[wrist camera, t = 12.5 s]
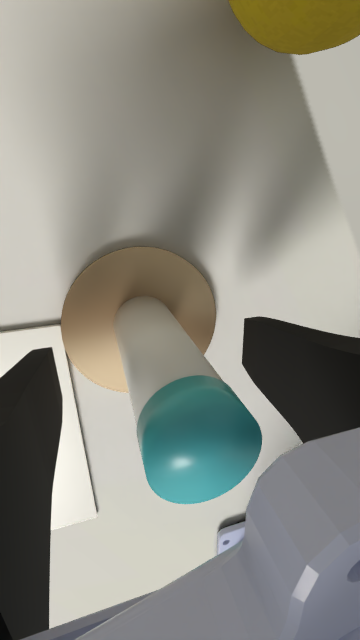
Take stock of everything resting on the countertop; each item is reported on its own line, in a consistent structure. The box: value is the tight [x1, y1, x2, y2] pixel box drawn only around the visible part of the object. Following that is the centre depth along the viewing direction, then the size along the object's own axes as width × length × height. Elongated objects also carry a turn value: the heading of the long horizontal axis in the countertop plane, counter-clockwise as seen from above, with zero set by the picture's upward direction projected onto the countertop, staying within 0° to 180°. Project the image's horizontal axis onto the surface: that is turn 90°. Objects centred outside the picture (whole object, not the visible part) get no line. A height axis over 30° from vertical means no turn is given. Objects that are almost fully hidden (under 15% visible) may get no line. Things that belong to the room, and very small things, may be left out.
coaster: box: [61, 247, 216, 393], centre depth 14 cm, size 7×7×1 cm
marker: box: [114, 296, 262, 504], centre depth 10 cm, size 3×3×8 cm
